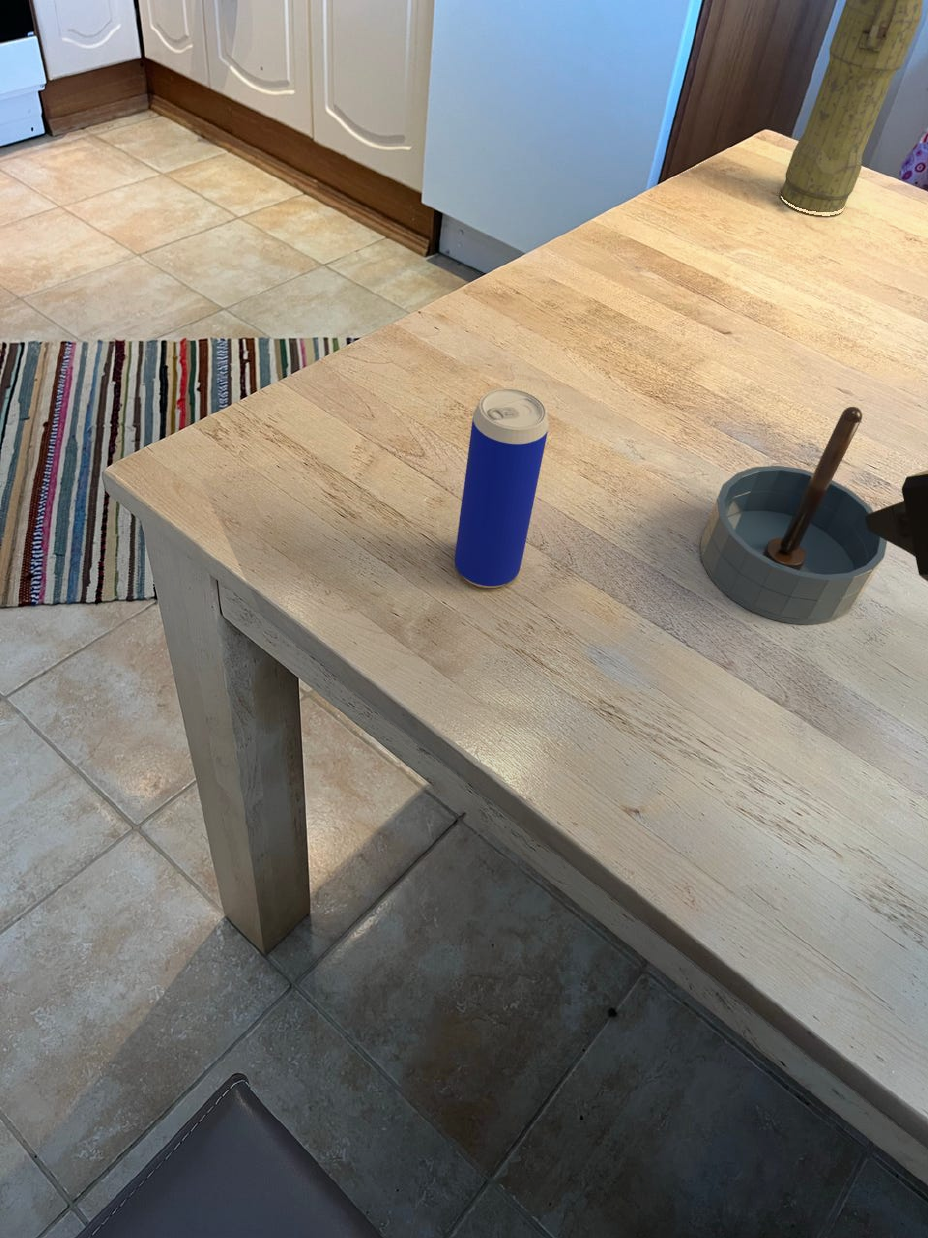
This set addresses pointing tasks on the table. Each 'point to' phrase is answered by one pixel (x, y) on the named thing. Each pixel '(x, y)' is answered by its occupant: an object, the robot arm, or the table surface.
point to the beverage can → (500, 486)
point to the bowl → (832, 545)
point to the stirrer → (814, 493)
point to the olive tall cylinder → (849, 101)
